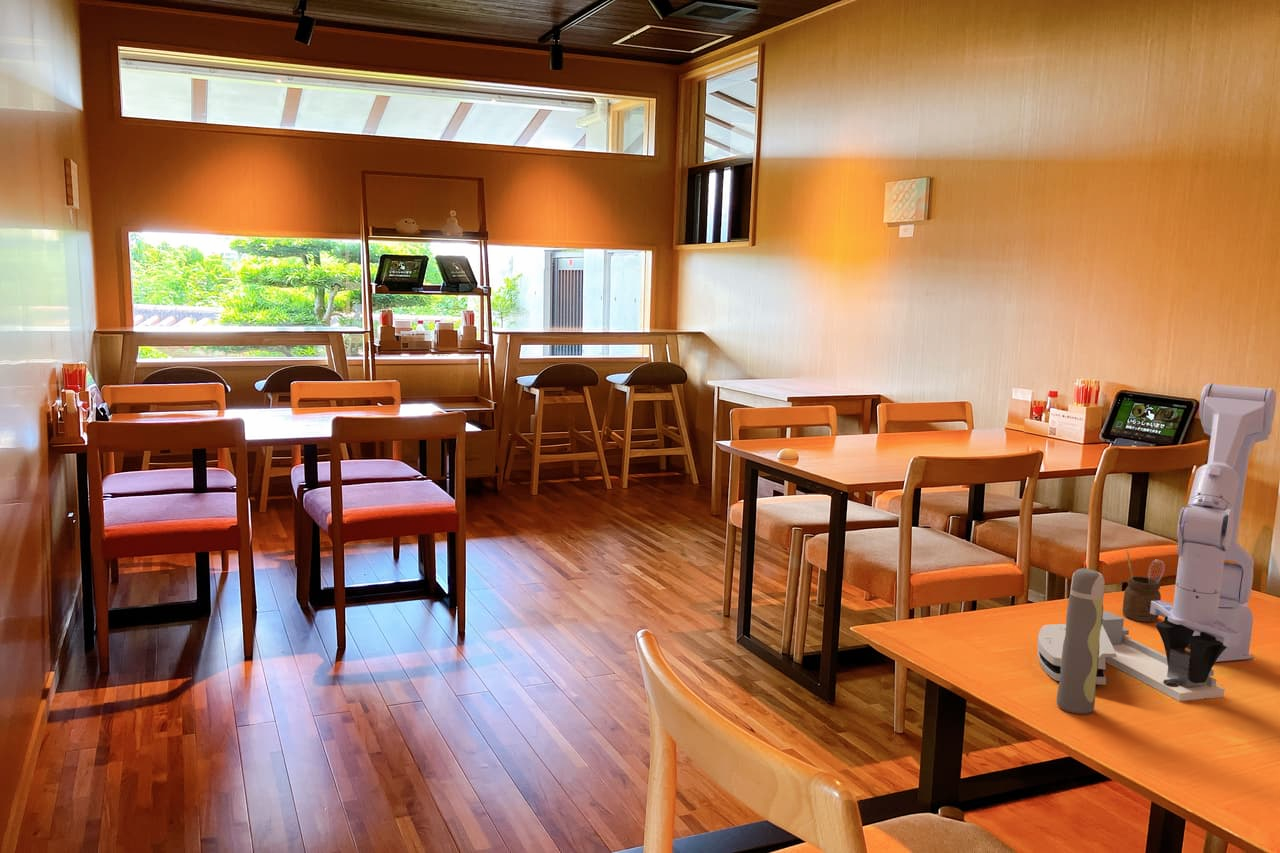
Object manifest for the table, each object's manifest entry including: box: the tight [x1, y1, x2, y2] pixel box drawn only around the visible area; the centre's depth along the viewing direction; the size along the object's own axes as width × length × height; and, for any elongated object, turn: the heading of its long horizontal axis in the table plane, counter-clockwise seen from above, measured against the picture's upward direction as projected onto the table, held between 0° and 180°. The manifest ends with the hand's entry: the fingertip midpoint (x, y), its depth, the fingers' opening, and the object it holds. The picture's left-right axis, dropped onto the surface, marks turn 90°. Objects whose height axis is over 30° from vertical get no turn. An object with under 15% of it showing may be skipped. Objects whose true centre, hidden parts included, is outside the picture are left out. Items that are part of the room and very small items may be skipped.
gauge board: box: [1102, 610, 1226, 702], centre depth 153 cm, size 22×8×6 cm, turn 16°
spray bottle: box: [1056, 567, 1106, 715], centre depth 137 cm, size 5×5×20 cm
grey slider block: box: [1164, 645, 1215, 687], centre depth 146 cm, size 4×7×5 cm, turn 106°
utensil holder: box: [1122, 549, 1166, 623], centre depth 178 cm, size 6×6×12 cm
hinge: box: [1036, 623, 1116, 686], centre depth 153 cm, size 17×5×10 cm
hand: (1186, 676), depth 146 cm, fingers closed on grey slider block, 4 cm apart
